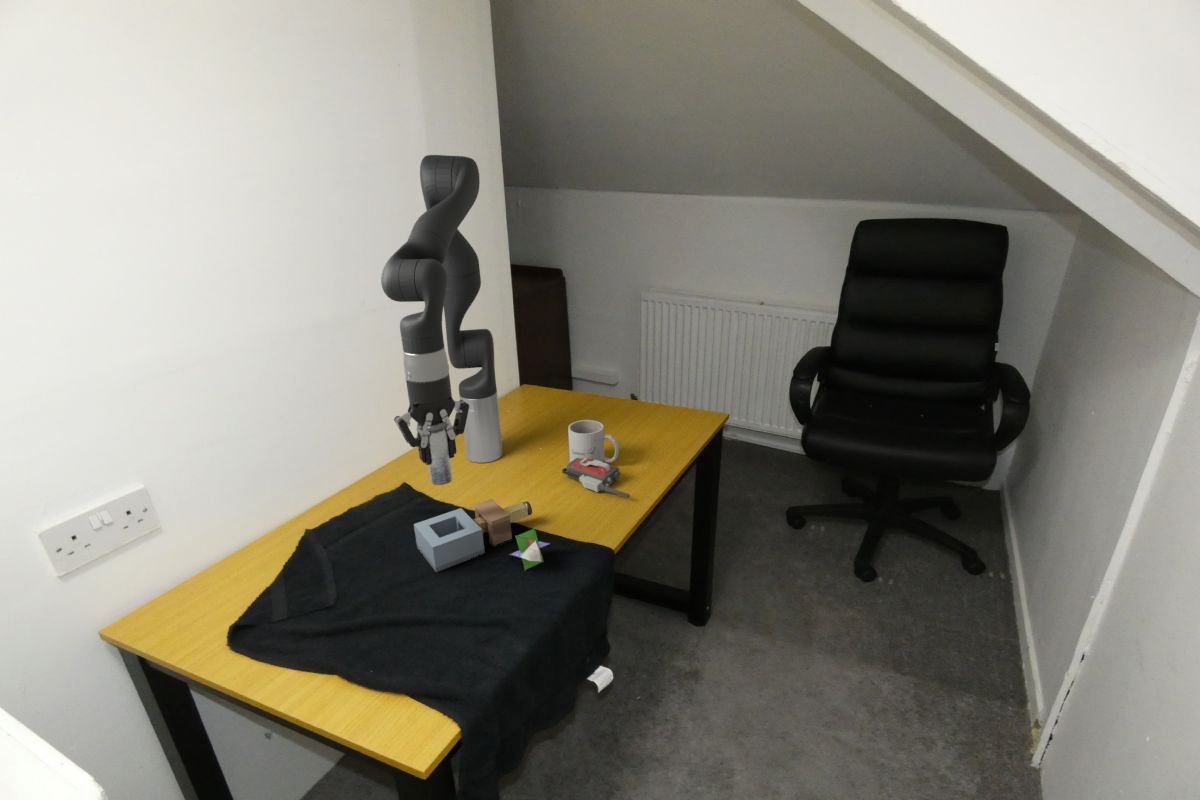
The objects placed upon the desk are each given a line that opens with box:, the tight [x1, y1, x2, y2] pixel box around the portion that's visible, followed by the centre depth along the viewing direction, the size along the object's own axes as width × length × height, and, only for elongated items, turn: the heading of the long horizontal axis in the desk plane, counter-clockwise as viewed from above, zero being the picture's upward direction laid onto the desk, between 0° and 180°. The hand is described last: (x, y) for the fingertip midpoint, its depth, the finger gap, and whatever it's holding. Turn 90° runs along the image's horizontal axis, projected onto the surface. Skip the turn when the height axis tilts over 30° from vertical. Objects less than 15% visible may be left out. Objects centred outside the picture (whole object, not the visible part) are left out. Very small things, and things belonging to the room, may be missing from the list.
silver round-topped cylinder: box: [421, 422, 454, 486], centre depth 122 cm, size 5×5×12 cm
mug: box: [567, 419, 620, 464], centre depth 160 cm, size 12×9×10 cm
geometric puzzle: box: [508, 527, 551, 571], centre depth 124 cm, size 7×7×8 cm
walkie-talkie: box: [561, 458, 631, 499], centre depth 152 cm, size 9×4×20 cm
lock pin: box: [473, 500, 533, 534], centre depth 135 cm, size 3×12×3 cm, turn 125°
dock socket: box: [413, 507, 486, 573], centre depth 129 cm, size 10×10×6 cm
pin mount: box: [473, 498, 513, 547], centre depth 134 cm, size 8×4×6 cm, turn 35°
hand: (438, 459), depth 122 cm, fingers closed on silver round-topped cylinder, 4 cm apart
